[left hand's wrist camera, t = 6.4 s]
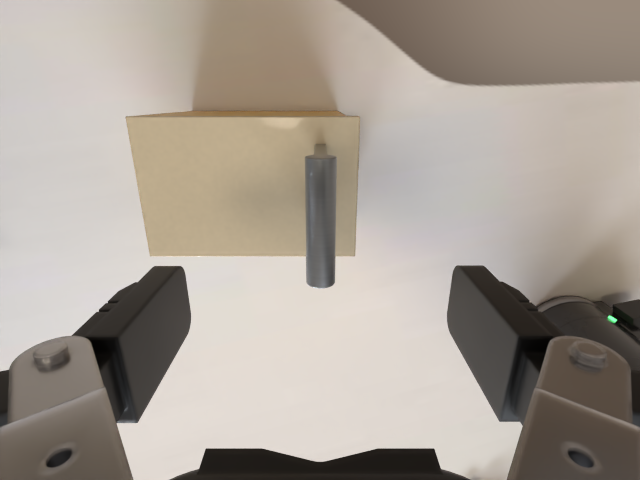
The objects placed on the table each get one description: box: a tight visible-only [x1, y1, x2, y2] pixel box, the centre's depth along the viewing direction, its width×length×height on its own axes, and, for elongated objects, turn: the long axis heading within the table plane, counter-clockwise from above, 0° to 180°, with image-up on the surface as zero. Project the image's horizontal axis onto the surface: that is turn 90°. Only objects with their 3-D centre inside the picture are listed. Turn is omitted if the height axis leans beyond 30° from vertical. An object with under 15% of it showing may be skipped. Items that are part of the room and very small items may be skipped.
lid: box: [126, 116, 360, 288], centre depth 21 cm, size 14×9×8 cm, turn 90°
